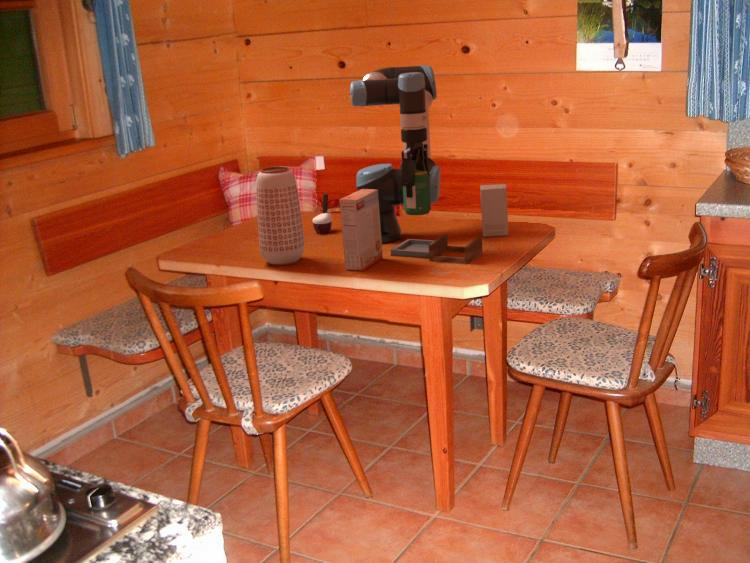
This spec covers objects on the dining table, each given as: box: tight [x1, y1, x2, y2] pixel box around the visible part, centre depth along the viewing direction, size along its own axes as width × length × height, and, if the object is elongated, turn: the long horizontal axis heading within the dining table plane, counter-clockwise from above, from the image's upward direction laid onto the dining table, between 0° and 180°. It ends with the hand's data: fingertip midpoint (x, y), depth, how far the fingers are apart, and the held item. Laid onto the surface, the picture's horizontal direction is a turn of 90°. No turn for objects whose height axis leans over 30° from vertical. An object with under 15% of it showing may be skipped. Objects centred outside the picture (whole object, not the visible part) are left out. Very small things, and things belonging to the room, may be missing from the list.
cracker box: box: [338, 189, 384, 272], centre depth 247 cm, size 14×6×21 cm, turn 154°
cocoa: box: [312, 193, 333, 235], centre depth 288 cm, size 10×6×12 cm, turn 139°
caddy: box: [428, 233, 484, 265], centre depth 250 cm, size 12×12×5 cm
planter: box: [255, 165, 306, 267], centre depth 253 cm, size 13×13×28 cm
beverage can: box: [403, 171, 432, 216], centre depth 254 cm, size 8×8×12 cm
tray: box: [390, 238, 435, 259], centre depth 259 cm, size 13×13×2 cm
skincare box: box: [479, 183, 509, 238], centre depth 271 cm, size 8×7×16 cm
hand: (417, 204), depth 255 cm, fingers closed on beverage can, 8 cm apart
